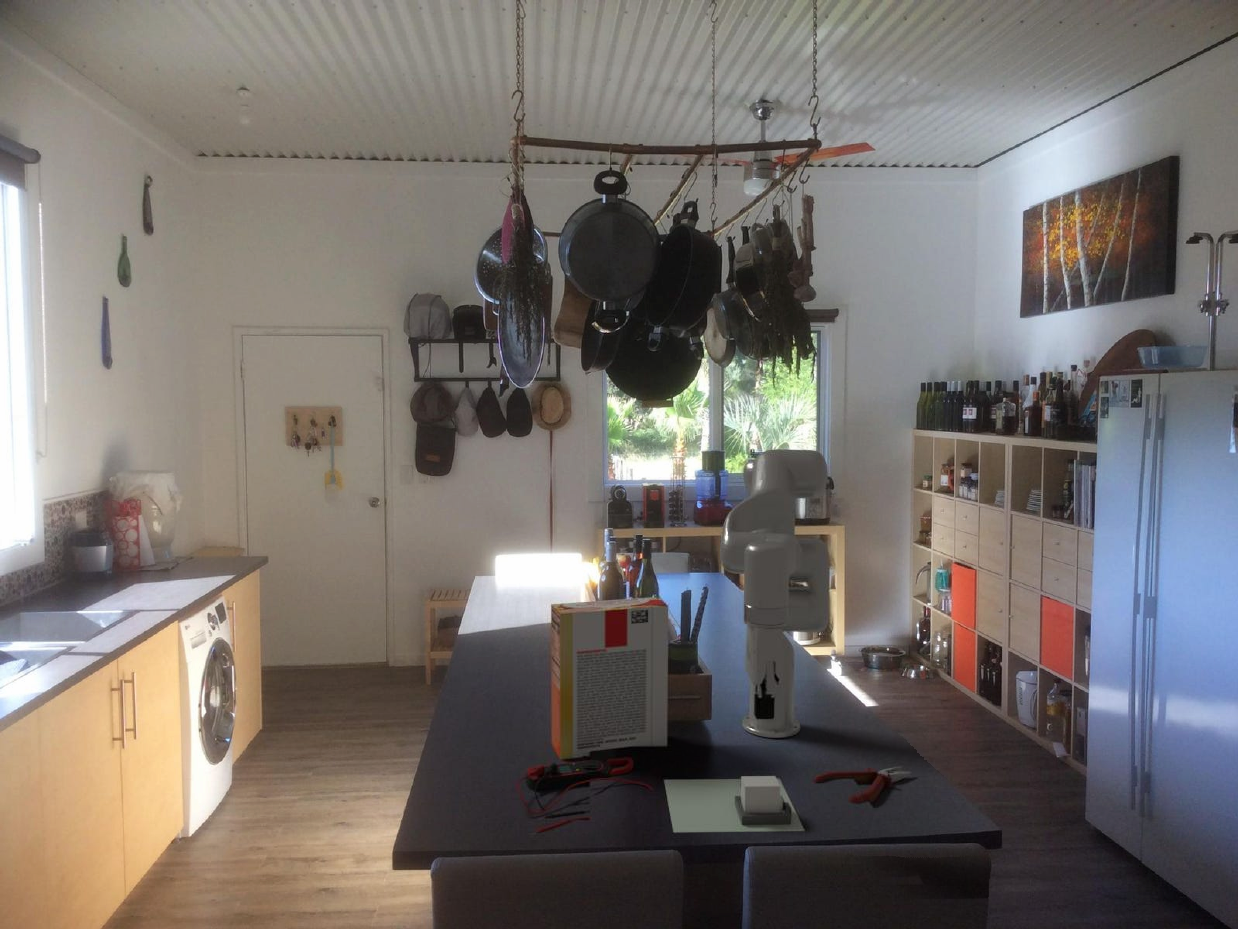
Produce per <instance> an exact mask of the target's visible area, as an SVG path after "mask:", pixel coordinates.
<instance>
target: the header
mask: <svg viewBox="0 0 1238 929" xmlns="http://www.w3.org/2000/svg"><path fill="white" fill-rule="evenodd" d="M781 797H782V796H781ZM782 799H783V797H782ZM735 807H736V809H737V812H738V815H739V818H740V821H741V824H742V825H791V807H790V805H789V803H788V802H785V801H784V799H783V811H784V813H744V811H743V808H742V805H741V796H735Z"/></svg>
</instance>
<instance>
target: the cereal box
mask: <svg viewBox="0 0 1238 929" xmlns="http://www.w3.org/2000/svg"><path fill="white" fill-rule="evenodd" d="M550 619H551V620H550V627H551V628H550V631H551V632H550V634H551V635H550V636H551V638H550V640H551V641H550V646H551V648H550V649H551V650H550V651H551V652H550V654H551V656H550V657H551V660H550V662H551V666H550V667H551V668H550V669H551V672H550V677H551V679H550V683H551V686H550V687H551V693H550V694H551V698H550V699H551V700H550V702H551V705H550V706H551V713H550V714H551V722H550V724H551V726H550V727H551V732H550V733H551V746H552V748H553V749H554V751H555V753H556V754H557V756H558V758H559V760H560V761H561V760H570V759H577V758H584V757H583V756H586V757H590V756H591V752H593V751H594V752H595V751H604V750H611V749H613V750H614V749H619V748H627V747H668V700H669V699H668V692H669V690H668V686H669V685H668V684H669V683H668V682H669V680H668V679H669V678H668V677H669V675H668V674H669V672H668V671H669V666H668V665H669V605H668V604H666V603H665V602H663V601H662V600H661V599H659V598H657V597H655V596H652V597H651V596H649V597H637V598H626V599H625V598H624V599H609V600H596V601H594V600H593V601H579V602H567V603H566V602H565V603H552V604H550Z"/></svg>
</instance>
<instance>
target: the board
mask: <svg viewBox="0 0 1238 929" xmlns="http://www.w3.org/2000/svg"><path fill="white" fill-rule="evenodd" d="M776 779H777V781H778V783H779V785H780V796H782V797H783V799H784V801H785V802H788V803H789V805H790V807H791V825H742V824H741V821H740V818H739V815H738V812H737V809H736V807H735V796H741V778H730V779H729V778H728V779H727V778H726V779H725V778H723V779H722V778H719V779H717V778H714V779H711V778H710V779H709V778H708V779H707V778H705V779H700V778H699V779H695V778H694V779H663V784H664V787H665V794H666V798H667V799H666V800H667V805H668V809H669V815H670V820H671V821H670V822H671V825H672V832H673V833H677V834H679V833H742V832H744V833H747V832H748V833H749V832H754V833H755V832H758V833H761V832H763V833H764V832H766V833H767V832H770V833H771V832H805V829H804V826H803V825H802V822H801V820H800V818H799V816H798V814H797V812H796V810H795V808H794V806H793V803H792V801H791V799H790V797H789V795H788V793H787V791H786V789H785V787H784V785H783V783H782V780H781V779H780V778H776ZM783 813H784V811H783Z"/></svg>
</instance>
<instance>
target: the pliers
mask: <svg viewBox="0 0 1238 929" xmlns="http://www.w3.org/2000/svg"><path fill="white" fill-rule="evenodd" d="M902 769H904V766H902V765H901V766H896V767H890V768H889V767H888V768H884V769H881V770H879V771H877V770H876V769H873V767H867V770H857V771H856V770H852V771H851V770H848V771H847V770H845V771H844V770H843V771H842V770H841V771H839V770H838V771H829V772H825V773H822V774H819V775H815V777H814V778H813V779H812V780H813V781H812V782H813V783H814V784H816V783H819V782H823V781H826V780H831V779H836V778H837V779H838V778H839V779H840V778H852V779H853V780H854V782H855V783H860V784H862V783H868V782H870V783H871V782H872V784H871V785H870V786H869V788H868V789H866V790H865V791H860V792H857V793H855V794H853V795H851V796H850V797H849V800H848V802H849V803H852V804H859V803H862V802H868V803H869V804H870V805H871V804H873V803H875V801H876V800H877V799H878V796H879V795H880V793H881V792H882V790H883V789H884V788H887V789H892V786H893V784H892V783H895V782H898V781H900V780H901V781H902V780H903V779H906V778H908V777H910V776H912V775H914V774H915V772H914V771H902ZM872 802H873V803H872Z"/></svg>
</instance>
